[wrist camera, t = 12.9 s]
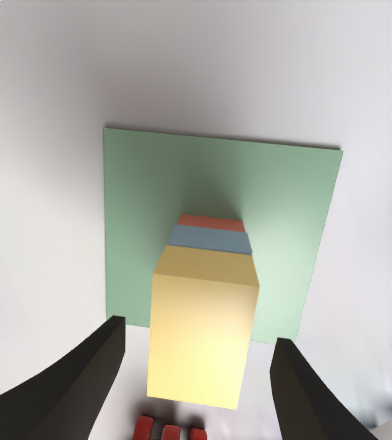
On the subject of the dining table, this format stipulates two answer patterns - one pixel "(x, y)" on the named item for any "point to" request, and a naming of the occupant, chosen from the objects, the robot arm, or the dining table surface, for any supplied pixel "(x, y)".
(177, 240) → the slate-blue brick
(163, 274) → the ochre brick
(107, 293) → the baseplate
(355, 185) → the dining table surface
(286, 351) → the robot arm
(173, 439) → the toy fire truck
